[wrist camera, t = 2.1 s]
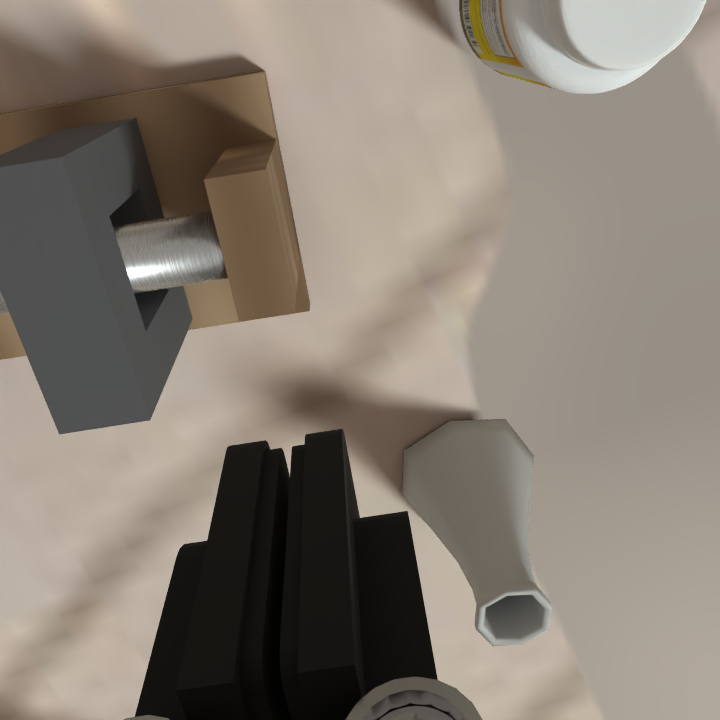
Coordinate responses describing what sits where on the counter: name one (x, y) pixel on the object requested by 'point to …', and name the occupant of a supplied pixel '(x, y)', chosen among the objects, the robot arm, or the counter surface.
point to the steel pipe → (168, 252)
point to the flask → (482, 520)
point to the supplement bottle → (576, 38)
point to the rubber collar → (86, 275)
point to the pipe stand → (202, 186)
